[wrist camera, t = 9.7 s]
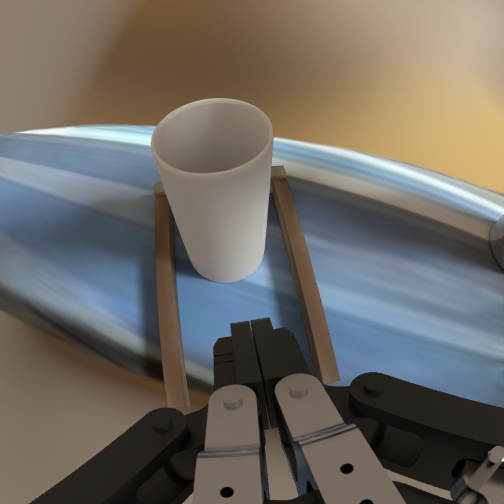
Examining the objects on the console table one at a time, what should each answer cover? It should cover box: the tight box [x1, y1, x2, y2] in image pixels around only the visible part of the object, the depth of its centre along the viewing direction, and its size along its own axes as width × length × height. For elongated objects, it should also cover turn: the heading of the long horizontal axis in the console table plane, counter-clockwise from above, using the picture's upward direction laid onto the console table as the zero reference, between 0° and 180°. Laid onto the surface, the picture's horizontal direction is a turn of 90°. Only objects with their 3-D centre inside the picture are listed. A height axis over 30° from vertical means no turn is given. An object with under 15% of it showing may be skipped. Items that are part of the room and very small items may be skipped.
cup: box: [151, 98, 273, 283], centre depth 26 cm, size 8×8×16 cm
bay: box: [154, 166, 340, 408], centre depth 30 cm, size 15×24×3 cm, turn 10°
